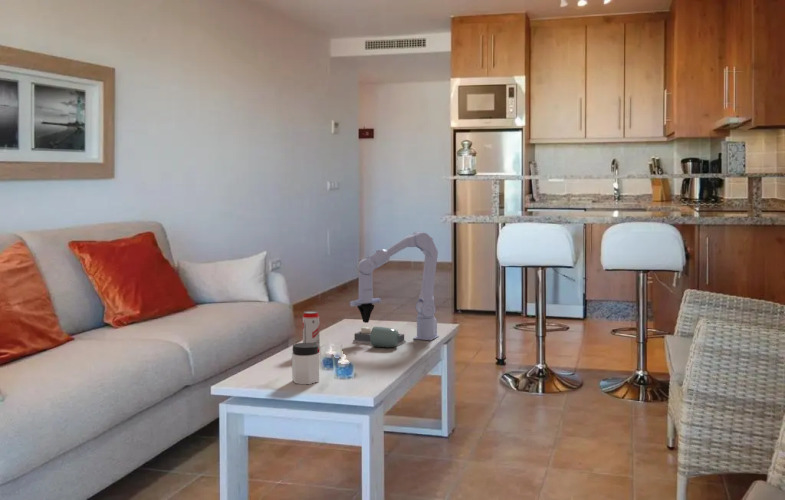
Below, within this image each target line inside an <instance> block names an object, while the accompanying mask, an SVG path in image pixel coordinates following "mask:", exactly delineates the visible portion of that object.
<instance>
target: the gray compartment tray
mask: <svg viewBox="0 0 785 500" xmlns="http://www.w3.org/2000/svg"><path fill="white" fill-rule="evenodd" d="M353 335H354V337H353V338H354V339H352V343H358V344H359V343H360V344H369V345H371V342H370V335H371V334H361V330H360V331H358V332H355V333H354V334H353ZM406 341H407V340H406V339H405V334H404V333H399V342H398V344H397V345H396V346H395V347H398V346H401V345H403V344H405V343H406Z"/></svg>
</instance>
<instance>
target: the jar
mask: <svg viewBox="0 0 785 500" xmlns="http://www.w3.org/2000/svg"><path fill="white" fill-rule="evenodd" d="M319 354H320V353H318V345H317V344H315V343H303V342H298V343H295V344H293V345H292V353H291V365H292V366H291V370H292V371H291V372H292V375H291V378H292V382H293V381H294V382H295V383H299V384H298V385H306V384H309V385H313V384H316V383H315V382H317V383H319V382H320V355H319ZM294 382H293V383H294ZM295 383H294V384H295ZM312 383H313V384H312Z"/></svg>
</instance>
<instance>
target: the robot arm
mask: <svg viewBox="0 0 785 500" xmlns="http://www.w3.org/2000/svg"><path fill="white" fill-rule="evenodd" d="M434 242H435V241H434V239H433V237H431V235H429V234H428V233H426V232H422V231H414V232H413V233H411V234H408V235H407V236H404V237H403V238H402V239H401V240H399V241H397V242H396V243H394V244H393V245H391V246H390V247H388V248H387V249H384V248H380V249H379V248H377V249H376V250H375V252H374V253H373V254H371V255H367V256H366V257H365V258H363V259H360V260H359V262H358V264H357V266H356V267H357V270H358V299H355V300H351V301H349V306H350V307H357V309H358V310H359V313H360V315H361V318H362V322H363V323H367V324H368V323H370V318H371V315H372V312H373V310H374V308H375V304H381V303H382V299H381V298H380V297H376V298H374V293H373V292H374V289H373V288H374V284H373V283H374V282H373V281H374V279H373V278H374V277H373V273H374V271H375V269H378V268H379V267H382V266H383V265H385V264H386V263H387V262H389V261H390V258H391V257H392V256H394V255H396V254H398V253H399V252H401V251H402V250H404V249H406V248H418V249H419V250H420V251H421V253H422V254H424V260H423V261H424V262H423V263H424V264H423V271H422V280H421V290H420V294H419V295H418V300H417V302H416V304H415V310H416V312H417V315H416V336H414V337H413V338H412V339H413V340H421V341H422V340H423V341H432V340H434V339H436V338H438V337H440V335H439V334H438V333H437V332H438V321H437V319H436V316H435V314H436V310H437V308H436V305H435V297H434V291H435V282H436V274H437V263H438V255H439V252H438V248H437V247H436V244H435V243H434Z"/></svg>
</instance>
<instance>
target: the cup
mask: <svg viewBox="0 0 785 500" xmlns="http://www.w3.org/2000/svg"><path fill="white" fill-rule="evenodd" d="M396 330H397V329H396ZM396 330H395V328H390V327H383V326H373V327H372V328H371V335H370V342H371V344H370V345H371V346H372V347H378V348H395V347H397V346H396V345H397V344H398V342H399V334H400V333H399V330H398V331H396Z"/></svg>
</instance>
